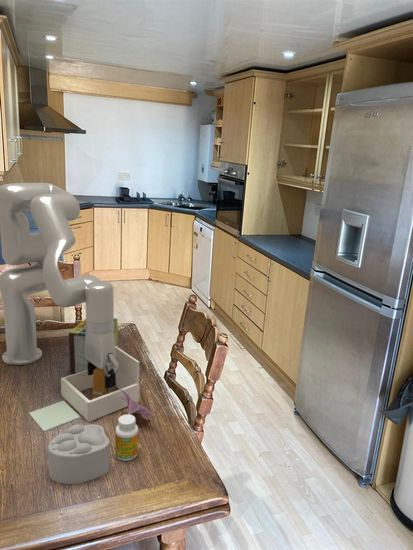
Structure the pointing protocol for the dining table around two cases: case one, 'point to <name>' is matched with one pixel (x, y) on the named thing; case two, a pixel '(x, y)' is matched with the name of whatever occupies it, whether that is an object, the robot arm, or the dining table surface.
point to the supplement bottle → (126, 438)
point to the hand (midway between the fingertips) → (101, 380)
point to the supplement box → (99, 383)
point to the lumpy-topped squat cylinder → (79, 454)
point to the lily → (135, 406)
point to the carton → (110, 402)
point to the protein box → (81, 347)
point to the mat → (54, 416)
